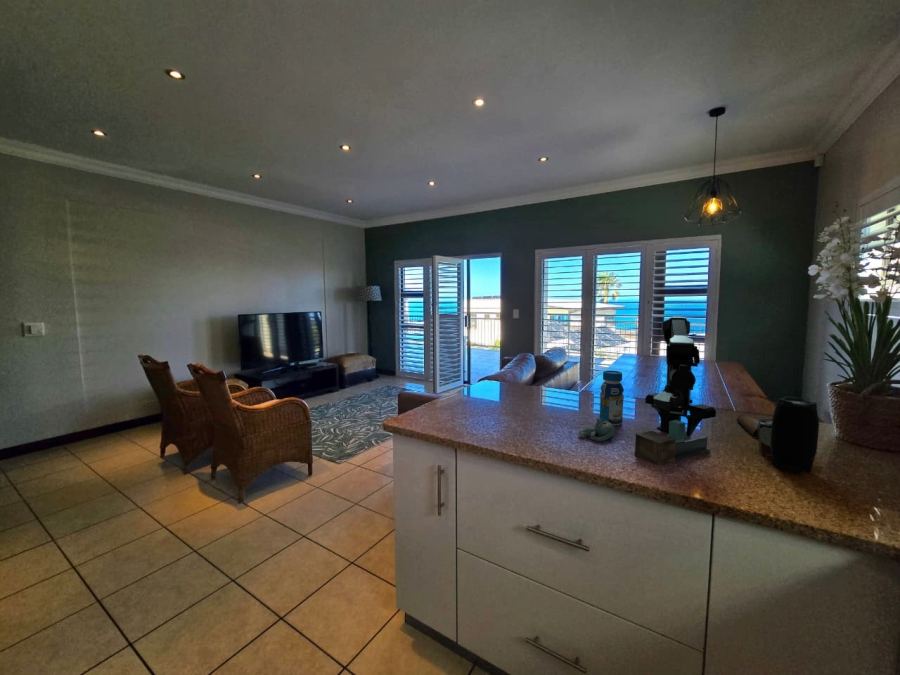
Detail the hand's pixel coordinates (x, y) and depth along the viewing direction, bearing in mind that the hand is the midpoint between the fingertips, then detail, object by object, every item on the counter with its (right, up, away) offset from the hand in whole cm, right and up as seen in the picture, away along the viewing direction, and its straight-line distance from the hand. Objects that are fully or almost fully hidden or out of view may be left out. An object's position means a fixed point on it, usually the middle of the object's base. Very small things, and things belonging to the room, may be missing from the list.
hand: (676, 432), depth 111 cm
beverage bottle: (-7, -4, +29) cm, 30 cm away
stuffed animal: (-19, -6, +14) cm, 24 cm away
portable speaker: (+25, -8, -10) cm, 28 cm away
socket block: (-9, -7, -3) cm, 11 cm away
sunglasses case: (+41, -5, +19) cm, 45 cm away
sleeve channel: (+2, -6, +1) cm, 7 cm away
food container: (+31, -7, 0) cm, 31 cm away
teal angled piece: (-5, -5, -1) cm, 7 cm away
